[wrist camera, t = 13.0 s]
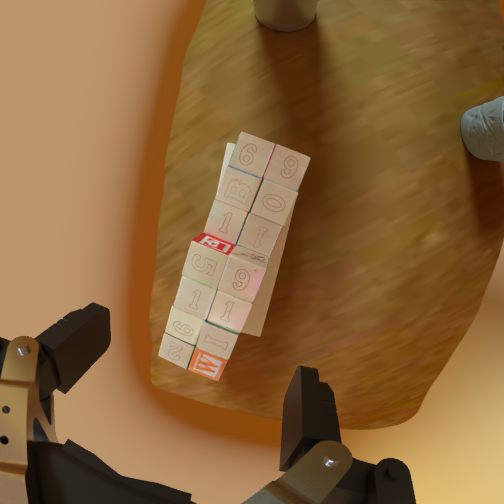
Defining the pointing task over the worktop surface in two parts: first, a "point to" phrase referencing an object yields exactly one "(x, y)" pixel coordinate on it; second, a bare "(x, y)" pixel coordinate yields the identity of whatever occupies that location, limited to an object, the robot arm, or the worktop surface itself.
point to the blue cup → (485, 130)
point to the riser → (266, 288)
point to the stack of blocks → (232, 254)
